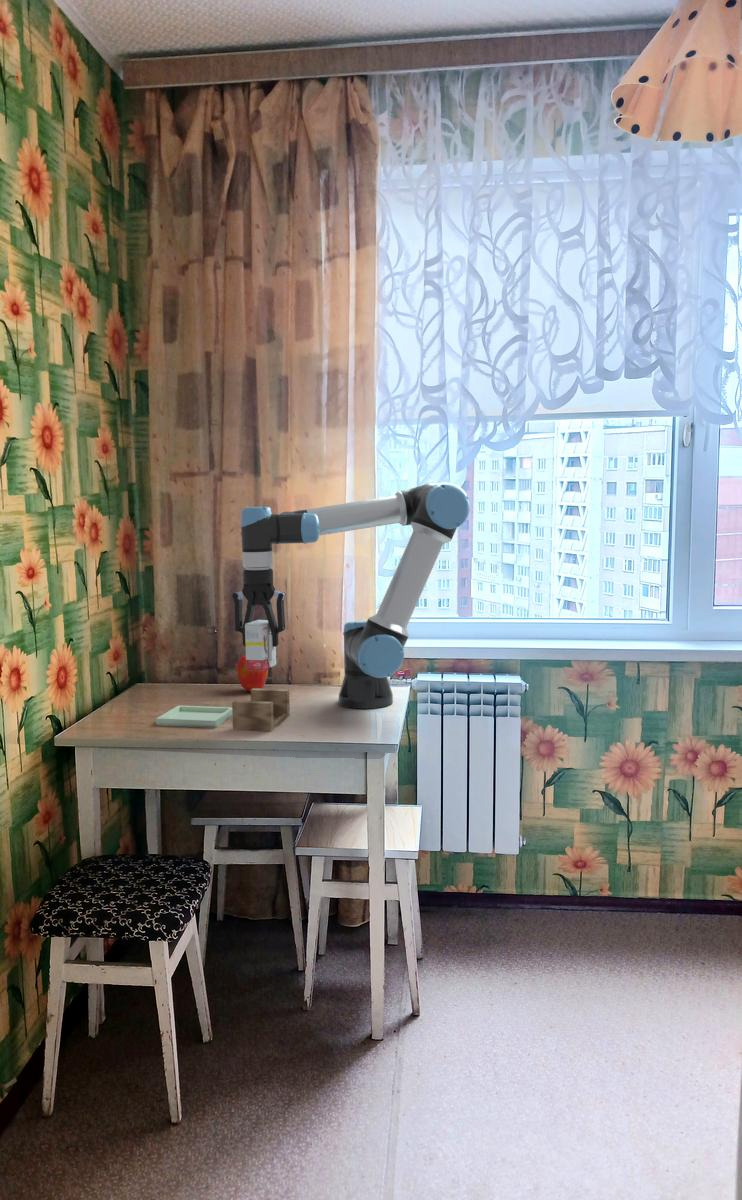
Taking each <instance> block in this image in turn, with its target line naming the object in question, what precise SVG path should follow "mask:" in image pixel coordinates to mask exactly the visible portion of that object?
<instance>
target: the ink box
mask: <svg viewBox="0 0 742 1200" xmlns="http://www.w3.org/2000/svg"><path fill="white" fill-rule="evenodd" d="M269 634H271V630H270V626H269V623H268V620H267V619H256V620H252V621H251V622H250V623H246V624H245V643H246V646H245V655H246V670H254V671H264V670H266V669H268V670H269V669H270V668H273V667H275V666H276V665H277V651H276V650H277V649H276V648H277V647H275V656H276V658H275V659H273V660H269Z"/></svg>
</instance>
